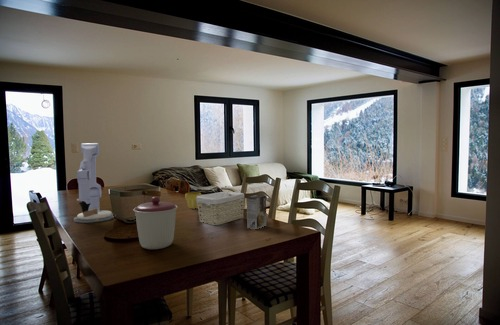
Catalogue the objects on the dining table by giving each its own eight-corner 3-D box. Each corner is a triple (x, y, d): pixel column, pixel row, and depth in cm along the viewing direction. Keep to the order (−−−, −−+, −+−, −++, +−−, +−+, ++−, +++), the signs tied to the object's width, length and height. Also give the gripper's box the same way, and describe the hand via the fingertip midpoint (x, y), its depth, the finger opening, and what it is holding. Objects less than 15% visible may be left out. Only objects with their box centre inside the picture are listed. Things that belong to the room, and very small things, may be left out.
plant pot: (186, 206, 226) (185, 192, 225) (201, 206, 227) (201, 192, 226) (184, 209, 216) (184, 194, 215) (200, 209, 217) (200, 194, 216)
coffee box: (256, 224, 175) (256, 194, 174) (266, 226, 171) (266, 195, 170) (246, 228, 167) (246, 196, 166) (257, 230, 164) (256, 197, 163)
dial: (91, 212, 203) (91, 205, 203) (117, 213, 199) (117, 206, 199) (70, 219, 185) (69, 211, 185) (98, 220, 182) (98, 212, 181)
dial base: (72, 217, 196) (72, 214, 196) (112, 212, 207) (112, 210, 207) (74, 225, 177) (74, 222, 177) (118, 219, 189) (118, 217, 188)
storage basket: (215, 226, 171) (215, 198, 170) (195, 222, 182) (194, 195, 181) (246, 218, 189) (245, 193, 188) (226, 214, 200) (225, 190, 199)
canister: (136, 255, 128) (134, 201, 127) (132, 242, 145) (131, 195, 144) (182, 249, 135) (181, 198, 134) (174, 237, 152) (173, 192, 151)
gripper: (73, 190, 189) (74, 213, 190) (80, 193, 178) (81, 217, 179) (86, 188, 194) (87, 211, 195) (94, 191, 183) (95, 215, 184)
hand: (85, 214), depth 187 cm, fingers closed, pressing on dial
